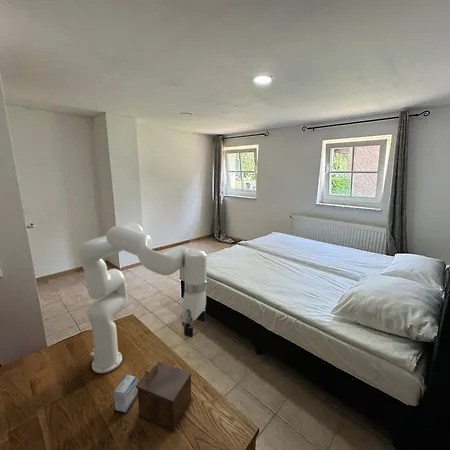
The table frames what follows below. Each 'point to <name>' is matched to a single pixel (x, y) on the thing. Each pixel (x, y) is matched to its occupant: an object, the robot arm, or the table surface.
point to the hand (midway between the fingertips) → (195, 327)
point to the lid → (163, 381)
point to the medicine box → (125, 393)
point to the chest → (164, 406)
